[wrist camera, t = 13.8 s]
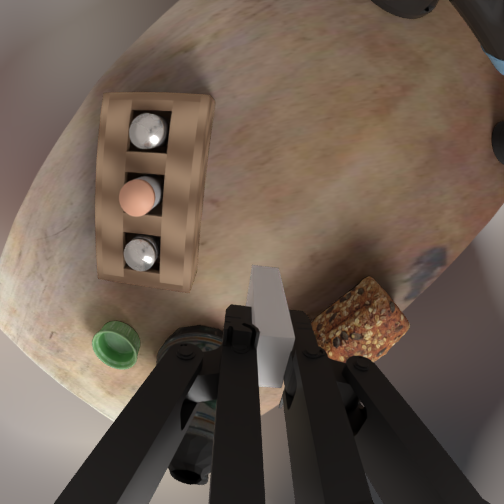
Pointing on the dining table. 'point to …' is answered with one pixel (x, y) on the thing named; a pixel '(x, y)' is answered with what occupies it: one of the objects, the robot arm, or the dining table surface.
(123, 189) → the plug terracotta
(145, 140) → the plug
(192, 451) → the beer stein
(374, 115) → the dining table surface
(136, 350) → the ramekin
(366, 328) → the bread
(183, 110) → the block
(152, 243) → the plug
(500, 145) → the pen holder
